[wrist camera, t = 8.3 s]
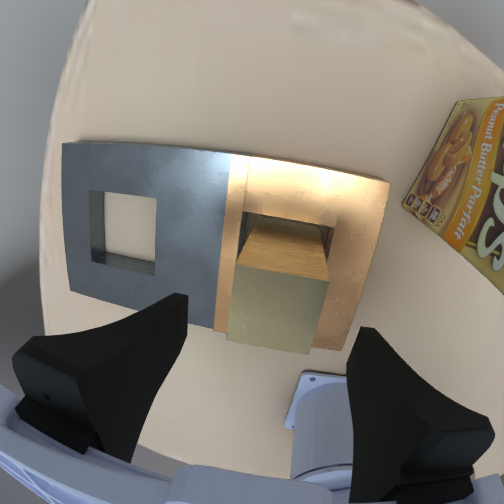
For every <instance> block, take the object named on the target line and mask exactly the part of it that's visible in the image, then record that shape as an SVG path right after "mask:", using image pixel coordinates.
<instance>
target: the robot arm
mask: <svg viewBox="0 0 504 504" xmlns="http://www.w3.org/2000/svg"><path fill="white" fill-rule="evenodd" d="M188 298H189V295H185V294H180V293H176V292H175V293H173V294H171V295H169V296H167V297H165V298H163V299H161V300H160V301H158V302H156V303H154V304H152V305H150V306H148V307H147V308H145V309H143V310H141V311H139V312H137V313H134V314H132V315H130V316H128V317H126V318H124V319H121V320H119V321H116V322H114V323H111V324H108V325H105V326H102V327H98V328H94V329H90V330H86V331H82V332H76V333H71V334H63V335H51V336H33V337H32V338H31V339H30V340H28V341H27V342H26V343H25V344H24V345H23V346H22V347H21V348H20V349H19V350H18V351H17V352H16V353H15V354H14V355H13V357H12V363H13V369H14V372H15V374H16V376H17V379H18V381H19V383H20V385H21V387H22V390H23V392H24V394H25V397H24V398H23V399H22V400H21V401H20V399H19V398H18V397H17V396H16V395H15V394H13V393H12V392H10V391H9V390H7V389H6V388H5V387H3V386H2V385H0V467H2V468H3V469H4V470H5V471H7V472H8V473H9V474H11V475H12V476H13V477H14V478H16V479H17V480H18V481H20V482H21V483H22V484H24V485H25V486H26V487H28V488H29V489H30V490H32V491H33V492H35V493H36V494H37V495H39V496H40V497H42V498H43V499H45V500H46V501H48V502H49V503H51V504H504V488H503V485H502V482H501V479H500V476H499V474H493V475H489V476H486V477H482V478H479V479H476V480H474V481H473V482H471V478H470V476H471V475H472V474H473V473H474V469H473V466H472V465H473V464H474V463H475V462H476V461H477V460H478V459H479V458H480V457H481V456H482V455H483V454H484V453H485V452H486V451H487V449H488V448H489V447H490V446H491V444H492V442H493V440H494V438H495V432H494V430H493V428H492V425H491V423H490V421H489V419H488V417H486V416H484V415H481V414H479V413H477V412H474V411H472V410H470V409H468V408H466V407H464V406H462V405H460V404H458V403H456V402H455V401H453V400H451V399H450V398H448V397H446V396H445V395H444V394H442V393H441V392H439V391H438V390H436V389H435V388H434V387H432V386H431V385H430V384H429V383H427V382H426V381H425V380H424V379H422V378H421V377H420V376H419V375H418V374H417V373H416V372H415V371H414V370H413V369H412V368H411V367H410V366H409V365H408V364H407V363H406V362H405V361H404V360H403V359H402V358H401V357H400V356H399V355H398V354H397V353H396V352H395V350H394V349H393V348H392V347H391V346H390V345H389V344H388V342H387V341H386V340H385V339H384V338H383V337H382V336H381V335H380V333H379V332H378V331H377V330H376V329H375V328H369V327H362V326H361V327H360V330H359V333H358V335H357V338H356V341H355V343H354V346H353V348H352V351H351V353H350V356H349V358H348V361H347V363H346V376H347V377H346V376H337V375H329V374H321V373H314V372H304V373H302V374H301V377H300V380H299V383H298V386H297V389H296V391H295V394H294V397H293V400H292V403H291V406H290V409H289V411H288V414H287V417H286V420H285V422H284V427H285V428H287V429H294V436H293V450H292V462H291V474H290V480H289V479H280V478H273V477H265V476H259V475H253V474H247V473H241V472H236V471H231V470H226V469H221V468H217V467H211V466H203V465H190V466H183V467H180V468H178V470H177V471H176V473H175V475H174V477H173V478H171V477H168V476H164V475H161V474H158V473H155V472H152V471H149V470H146V469H143V468H141V467H138V466H135V465H132V464H130V463H131V460H132V457H133V453H134V450H135V447H136V444H137V442H138V439H139V436H140V433H141V430H142V428H143V425H144V422H145V420H146V417H147V415H148V412H149V410H150V407H151V405H152V403H153V400H154V398H155V396H156V394H157V392H158V390H159V388H160V387H161V385H162V383H163V382H164V380H165V378H166V376H167V375H168V373H169V371H170V370H171V368H172V366H173V364H174V363H175V361H176V359H177V357H178V356H179V354H180V352H181V349H182V347H183V344H184V342H185V339H186V337H187V327H188ZM311 377H314V378H311Z"/></svg>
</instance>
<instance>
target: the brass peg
mask: <svg viewBox="0 0 504 504" xmlns="http://www.w3.org/2000/svg"><path fill="white" fill-rule="evenodd" d="M329 283H330V279H329V274H328V269H327V264H326V258H325V253H324V248H323V244H322V239H321V234H320V229H319V227H318V226H312V225H307V224H301V223H296V222H291V221H285V220H279V219H274V218H268V217H262V216H258V218H257V220H256V222H255V224H254V226H253V228H252V231H251V233H250V235H249V237H248V239H247V241H246V243H245V245H244V247H243V249H242V251H241V253H240V255H239V257H238V259H237V261H236V263H235V269H234V277H233V285H232V293H231V302H230V310H229V318H228V327H227V335H226V340H230V341H235V342H240V343H245V344H250V345H255V346H261V347H266V348H271V349H277V350H283V351H289V352H295V353H301V354H307V355H308V354H309V351H310V348H311V345H312V342H313V338H314V335H315V332H316V328H317V325H318V322H319V318H320V315H321V311H322V308H323V305H324V301H325V297H326V294H327V290H328V287H329Z"/></svg>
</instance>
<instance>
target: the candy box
mask: <svg viewBox="0 0 504 504" xmlns="http://www.w3.org/2000/svg"><path fill="white" fill-rule="evenodd" d="M402 206H403V208H404V209H405V210H407V211H408V212H409V213H411V214H412V215H413V216H414V217H416V218H417V219H418V220H419V221H421V222H422V223H423V224H425V225H426V226H427V227H428V228H430V229H431V230H432V231H433V232H435V233H436V234H437V235H438V236H439V237H441V238H442V239H443V240H444V241H445V242H447V243H448V244H449V245H450V246H451V247H452V248H453V249H455V250H456V251H457V252H458V253H459V254H461V255H462V256H463V257H464V258H465V259H466V260H467V261H468V262H469V263H471V264H472V265H473V266H474V267H475V268H476V269H477V270H478V271H479V272H480V273H482V274H483V275H484V276H485V277H486V278H487V279H488V280H489V281H490V282H491V283H492V284H493V285H494V286H495V287H496V288H497V289H498V290H499V291H500V292H501V293H502V294H503V295H504V96H503V97H491V98H480V99H471V100H462V101H458V102H457V104H456V106H455V108H454V110H453V112H452V114H451V116H450V118H449V120H448V122H447V124H446V126H445V128H444V130H443V132H442V134H441V135H440V137H439V139H438V141H437V143H436V145H435V147H434V149H433V151H432V153H431V155H430V156H429V158H428V160H427V162H426V164H425V166H424V168H423V169H422V171H421V173H420V175H419V177H418V179H417V180H416V182H415V184H414V186H413V187H412V189H411V191H410V193H409V194H408V196H407V197H406V199H405V201H404V202H403V204H402Z"/></svg>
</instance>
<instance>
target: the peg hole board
mask: <svg viewBox="0 0 504 504" xmlns="http://www.w3.org/2000/svg"><path fill="white" fill-rule="evenodd" d="M61 181H62V215H63V231H64V243H65V253H66V262H67V271H68V278H69V285H70V291H73V292H77V293H80V294H83V295H86V296H89V297H93V298H96V299H99V300H103V301H106V302H109V303H113V304H116V305H120V306H123V307H127V308H131V309H134V310H138V311H141V310H143V309H145V308H147V307H148V306H150V305H152V304H154V303H156V302H158V301H160V300H161V299H163V298H165V297H167V296H169V295H171V294H173V293H175V292H176V293H180V294H185V295H189V298H188V323H190V324H194V325H198V326H203V327H207V328H212V329H214V330H213V331H218V332H223V333H227V327H228V318H229V310H230V302H231V293H232V285H233V277H234V269H235V263H236V261H237V259H238V257H239V255H240V253H241V251H242V245H243V238H244V230H245V222H246V215H247V212H251V213H257V214H263V215H269V216H275V217H280V218H286V219H292V220H297V221H303V222H308V223H314V224H319V225H324V226H330V229H329V233H328V238H327V242H326V247H325V251H324V253H325V258H326V264H327V269H328V274H329V279H330V283H329V287H328V290H327V294H326V297H325V301H324V305H323V308H322V311H321V315H320V318H319V322H318V325H317V328H316V332H315V335H314V338H313V342H312V345H311V347H315V348H322V349H329V350H337V351H342V348H343V346H344V343H345V340H346V338H347V335H348V332H349V329H350V326H351V324H352V321H353V318H354V315H355V312H356V309H357V306H358V303H359V300H360V297H361V294H362V291H363V287H364V284H365V281H366V278H367V274H368V271H369V268H370V264H371V261H372V257H373V254H374V250H375V247H376V243H377V239H378V235H379V231H380V228H381V224H382V220H383V216H384V211H385V207H386V203H387V198H388V194H389V189H390V185H391V184H390V183H388V182H387V181H385V180H383V179H380V178H376V177H372V176H367V175H363V174H359V173H354V172H349V171H345V170H340V169H335V168H330V167H325V166H320V165H315V164H309V163H304V162H298V161H293V160H287V159H281V158H274V157H268V156H261V155H254V154H247V153H240V152H232V151H224V150H215V149H206V148H197V147H186V146H175V145H162V144H147V143H128V142H99V141H76V142H68V143H62V172H61ZM104 192H113V193H121V194H129V195H136V196H144V197H151V198H157V209H156V239H155V263H153V262H149V261H144V260H139V259H135V258H130V257H125V256H121V255H116V254H112V253H107V252H105V237H104Z"/></svg>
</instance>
